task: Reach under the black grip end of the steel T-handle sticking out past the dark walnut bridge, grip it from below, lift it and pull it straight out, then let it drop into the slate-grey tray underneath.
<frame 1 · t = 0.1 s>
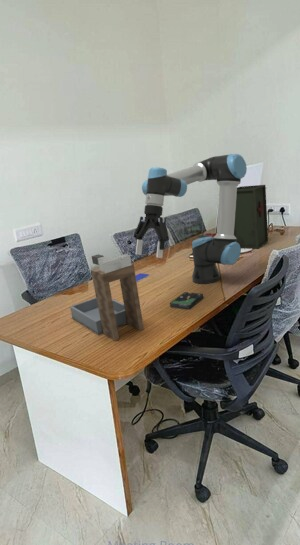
hand: (148, 256, 157), 28 cm above the table, tool tilted 20°, fingers open, 13 cm apart
first aid box: (250, 245, 262), on the table
t handle: (96, 262, 158), point 28 cm above the table, touching bridge
tray: (102, 319, 171), on the table
bridge: (123, 331, 155), on the table
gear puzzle: (217, 238, 297), on the table
disk drive: (187, 303, 176), on the table
hard drive: (138, 279, 223), on the table
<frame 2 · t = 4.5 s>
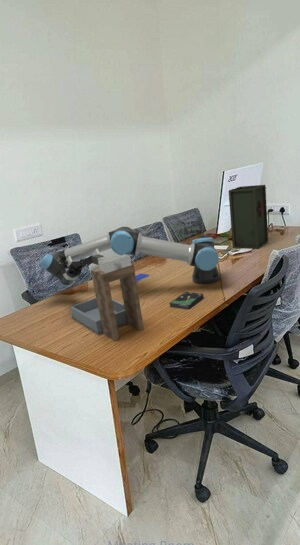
hand: (84, 254, 167), 30 cm above the table, tool pointing upward, fingers open, 13 cm apart
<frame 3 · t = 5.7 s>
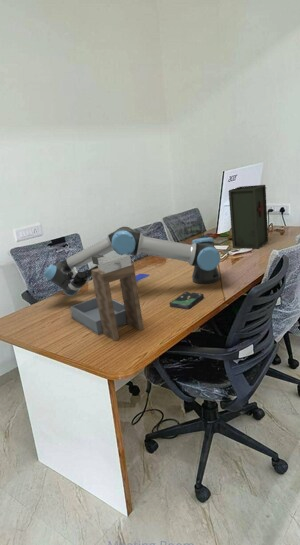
hand: (89, 265, 165), 25 cm above the table, tool pointing upward, fingers open, 13 cm apart
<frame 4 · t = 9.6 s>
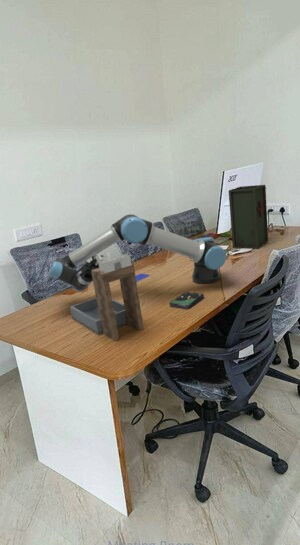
hand: (104, 255, 150), 32 cm above the table, tool pointing upward, fingers closed on t handle, 3 cm apart
t handle: (96, 262, 159), point 28 cm above the table, touching bridge, gripper
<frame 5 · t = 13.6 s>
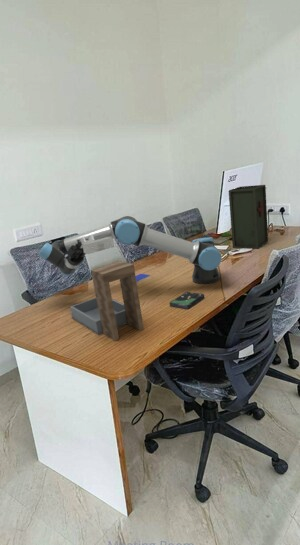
hand: (88, 238, 158), 38 cm above the table, tool pointing upward, fingers closed on t handle, 3 cm apart
t handle: (81, 245, 166), point 34 cm above the table, touching gripper
when the fingers open (25 cm above the table, at t = 17.4 s): t handle drops 20 cm, resting on tray.
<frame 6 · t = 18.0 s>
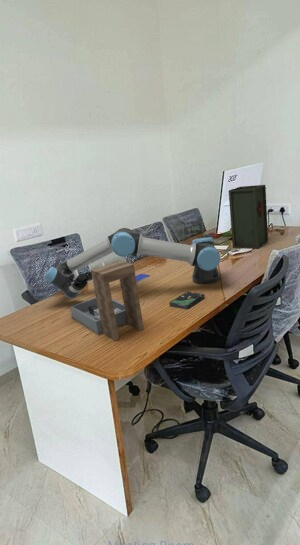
hand: (90, 268, 165), 24 cm above the table, tool pointing upward, fingers open, 13 cm apart
t handle: (92, 312, 178), point 1 cm above the table, touching tray
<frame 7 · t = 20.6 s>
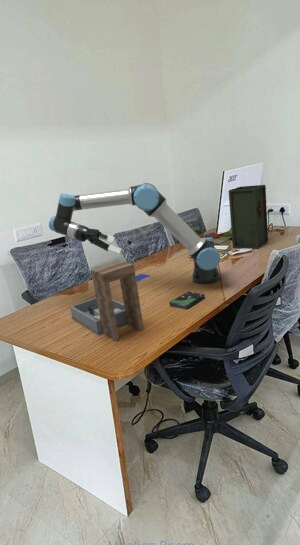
hand: (117, 246, 174), 30 cm above the table, tool tilted 70°, fingers open, 13 cm apart
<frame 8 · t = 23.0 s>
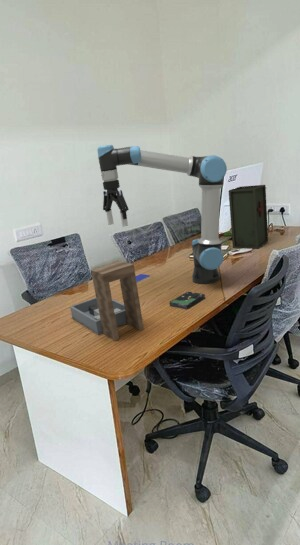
hand: (117, 225, 179), 39 cm above the table, tool pointing down, fingers open, 13 cm apart
at the end: t handle 9.3 cm from the tray (horizontally); t handle point 1.0 cm above the table; t handle touching tray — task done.
